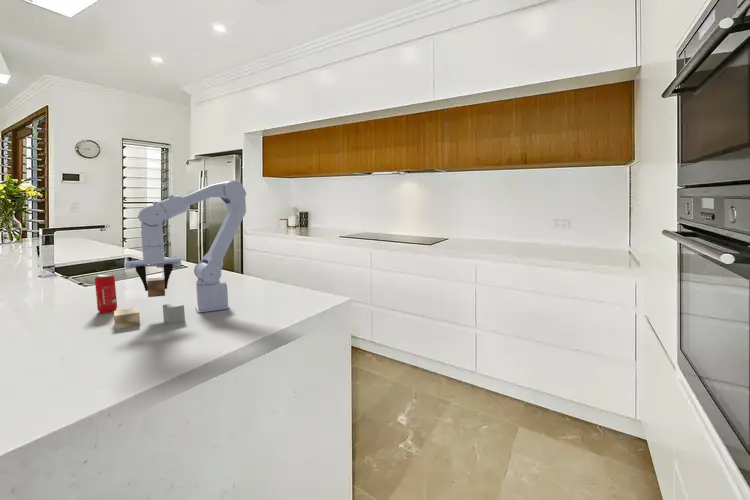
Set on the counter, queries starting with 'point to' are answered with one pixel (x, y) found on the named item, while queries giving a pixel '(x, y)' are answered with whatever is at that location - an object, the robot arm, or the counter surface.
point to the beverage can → (106, 293)
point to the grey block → (173, 313)
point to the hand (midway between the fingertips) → (156, 289)
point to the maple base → (126, 318)
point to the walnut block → (156, 287)
